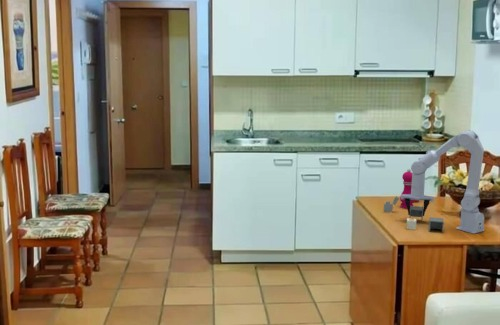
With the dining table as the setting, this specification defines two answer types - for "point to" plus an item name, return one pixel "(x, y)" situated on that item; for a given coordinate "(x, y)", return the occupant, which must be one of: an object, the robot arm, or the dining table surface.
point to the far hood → (416, 211)
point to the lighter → (390, 205)
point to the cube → (411, 224)
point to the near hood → (436, 223)
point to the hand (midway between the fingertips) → (416, 215)
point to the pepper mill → (407, 187)
